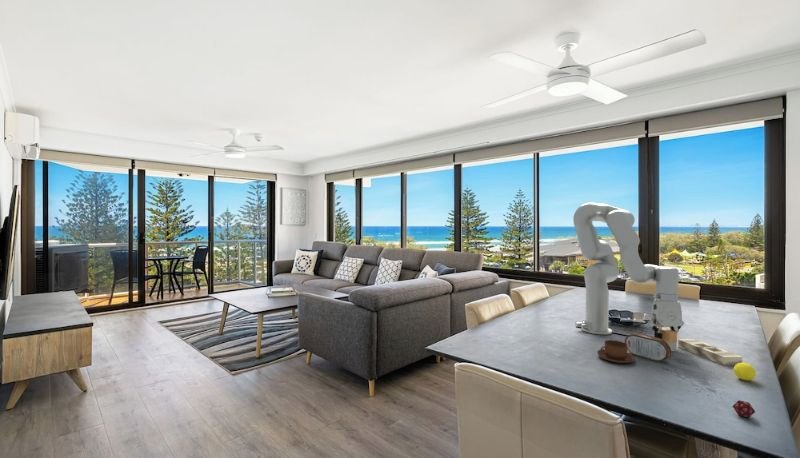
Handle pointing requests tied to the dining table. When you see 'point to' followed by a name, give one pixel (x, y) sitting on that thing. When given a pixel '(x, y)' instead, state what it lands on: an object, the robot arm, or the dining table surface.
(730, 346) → the dining table surface
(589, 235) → the robot arm
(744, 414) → the dice
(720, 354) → the rail
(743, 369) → the lemon
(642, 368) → the dining table surface
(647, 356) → the tin
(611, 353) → the cup and saucer
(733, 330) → the dining table surface
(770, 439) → the dining table surface
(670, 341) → the light orange block
